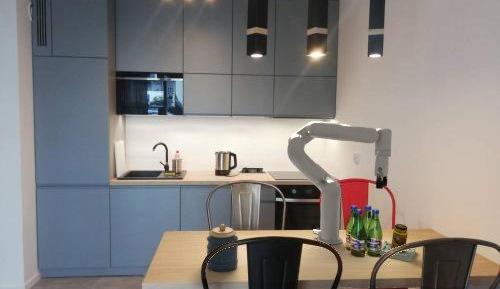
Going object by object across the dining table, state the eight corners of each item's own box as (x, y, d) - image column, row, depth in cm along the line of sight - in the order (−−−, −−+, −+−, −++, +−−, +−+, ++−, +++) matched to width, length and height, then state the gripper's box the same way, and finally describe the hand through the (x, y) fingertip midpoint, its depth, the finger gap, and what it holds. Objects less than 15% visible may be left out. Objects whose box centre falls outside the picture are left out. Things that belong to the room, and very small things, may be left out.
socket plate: (377, 254, 160) (377, 248, 160) (384, 246, 172) (384, 240, 171) (410, 261, 152) (410, 255, 152) (415, 252, 164) (415, 246, 164)
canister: (207, 273, 138) (208, 229, 137) (205, 260, 151) (205, 220, 150) (240, 271, 141) (240, 228, 139) (235, 258, 153) (235, 219, 152)
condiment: (396, 254, 157) (400, 229, 155) (384, 245, 165) (387, 221, 163) (409, 252, 160) (413, 228, 157) (396, 244, 168) (400, 220, 165)
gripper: (378, 151, 183) (377, 184, 184) (370, 153, 169) (369, 189, 170) (394, 152, 179) (392, 185, 180) (386, 154, 165) (385, 190, 166)
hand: (381, 187), depth 175 cm, fingers open, 9 cm apart
